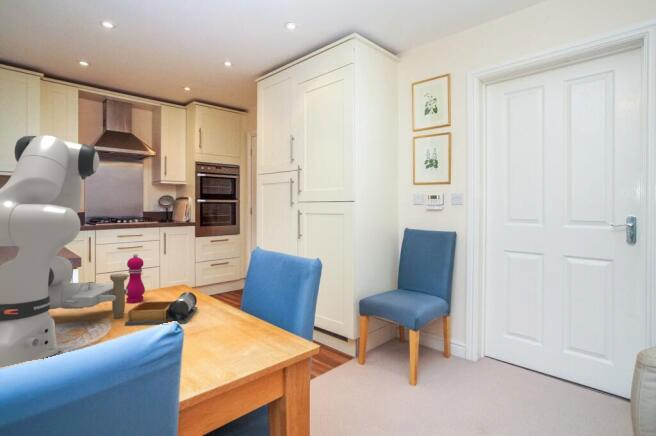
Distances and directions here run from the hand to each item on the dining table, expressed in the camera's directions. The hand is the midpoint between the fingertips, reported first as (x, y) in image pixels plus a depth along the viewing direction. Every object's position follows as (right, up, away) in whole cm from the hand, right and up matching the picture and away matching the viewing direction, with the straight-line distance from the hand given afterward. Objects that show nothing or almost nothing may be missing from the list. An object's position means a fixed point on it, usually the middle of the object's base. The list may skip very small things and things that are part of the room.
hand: (121, 294), depth 123 cm
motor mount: (+15, -8, +1) cm, 17 cm away
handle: (-1, -8, 0) cm, 8 cm away
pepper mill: (-7, -8, +22) cm, 25 cm away
